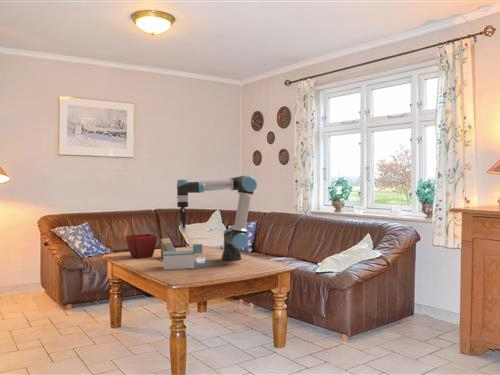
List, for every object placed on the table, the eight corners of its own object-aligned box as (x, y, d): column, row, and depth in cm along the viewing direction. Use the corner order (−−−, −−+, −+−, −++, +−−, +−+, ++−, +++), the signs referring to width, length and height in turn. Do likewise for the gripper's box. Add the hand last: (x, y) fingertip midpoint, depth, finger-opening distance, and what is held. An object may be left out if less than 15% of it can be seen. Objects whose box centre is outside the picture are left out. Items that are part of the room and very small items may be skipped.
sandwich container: (172, 260, 339) (172, 240, 339) (160, 258, 349) (160, 238, 349) (181, 259, 345) (181, 239, 345) (169, 256, 355) (169, 237, 355)
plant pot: (125, 256, 356) (125, 235, 355) (148, 254, 367) (148, 233, 367) (134, 259, 340) (134, 237, 340) (158, 257, 351) (157, 236, 351)
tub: (191, 265, 316) (191, 251, 316) (193, 269, 305) (193, 254, 305) (163, 267, 311) (163, 252, 311) (164, 270, 300) (164, 255, 300)
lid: (200, 251, 318) (200, 243, 318) (203, 254, 306) (203, 245, 306) (162, 252, 311) (162, 244, 311) (163, 255, 299) (163, 247, 299)
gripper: (176, 200, 326) (176, 229, 326) (178, 202, 301) (178, 233, 302) (186, 200, 327) (186, 229, 328) (189, 202, 303) (189, 233, 303)
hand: (183, 231), depth 315 cm, fingers open, 13 cm apart
